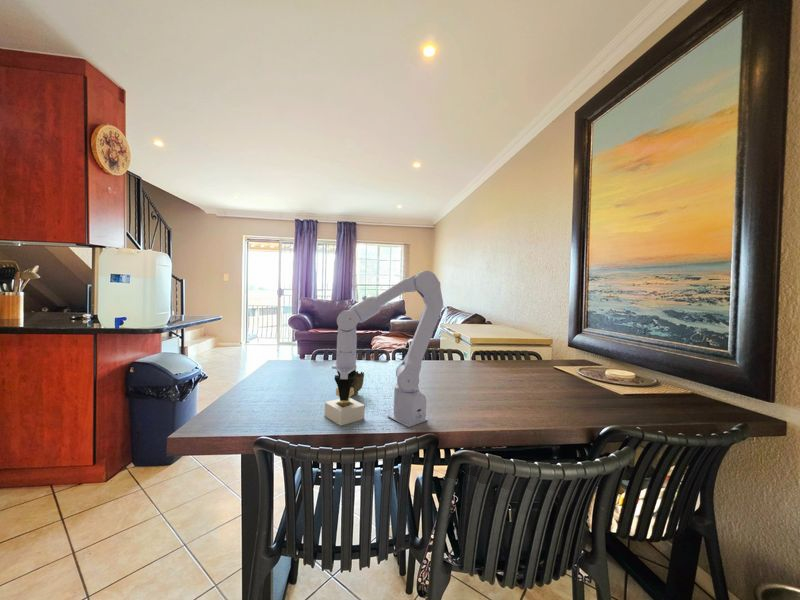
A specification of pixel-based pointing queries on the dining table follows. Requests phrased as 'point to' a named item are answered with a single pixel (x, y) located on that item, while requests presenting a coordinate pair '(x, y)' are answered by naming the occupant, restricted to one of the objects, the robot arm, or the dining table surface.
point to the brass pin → (346, 403)
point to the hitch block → (344, 411)
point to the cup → (357, 382)
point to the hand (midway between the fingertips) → (344, 396)
